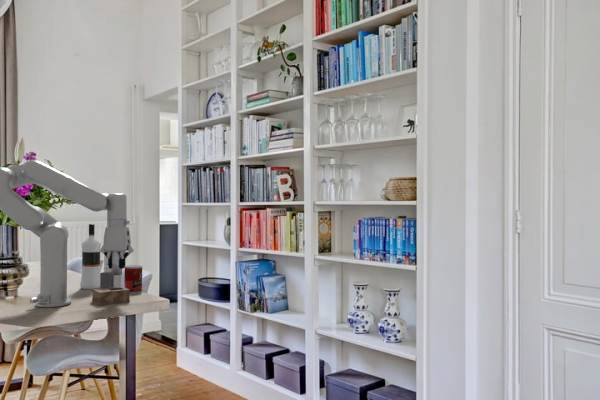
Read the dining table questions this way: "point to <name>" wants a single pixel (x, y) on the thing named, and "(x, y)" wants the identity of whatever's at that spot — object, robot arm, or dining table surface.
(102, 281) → the square bit
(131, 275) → the canned food
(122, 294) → the bore block
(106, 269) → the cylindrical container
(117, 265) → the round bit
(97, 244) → the vodka
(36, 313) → the dining table surface
